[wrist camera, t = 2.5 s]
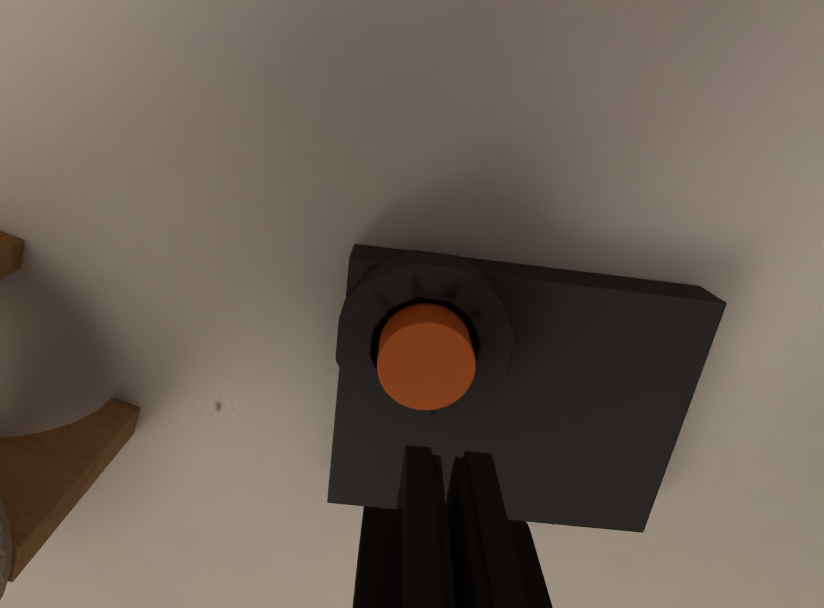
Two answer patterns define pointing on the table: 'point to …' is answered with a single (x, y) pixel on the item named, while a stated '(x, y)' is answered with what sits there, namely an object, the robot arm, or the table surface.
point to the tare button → (425, 357)
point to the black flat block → (526, 383)
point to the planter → (50, 465)
